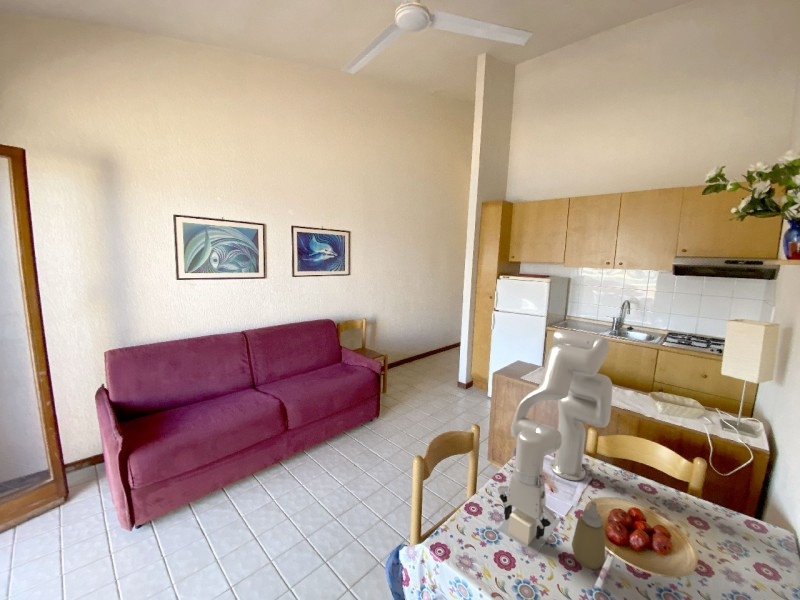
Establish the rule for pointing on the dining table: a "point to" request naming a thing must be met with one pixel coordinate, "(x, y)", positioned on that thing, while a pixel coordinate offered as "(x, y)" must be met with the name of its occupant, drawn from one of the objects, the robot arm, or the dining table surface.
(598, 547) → the squeeze bottle
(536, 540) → the plate
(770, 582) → the dining table surface
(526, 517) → the cream foam brick
